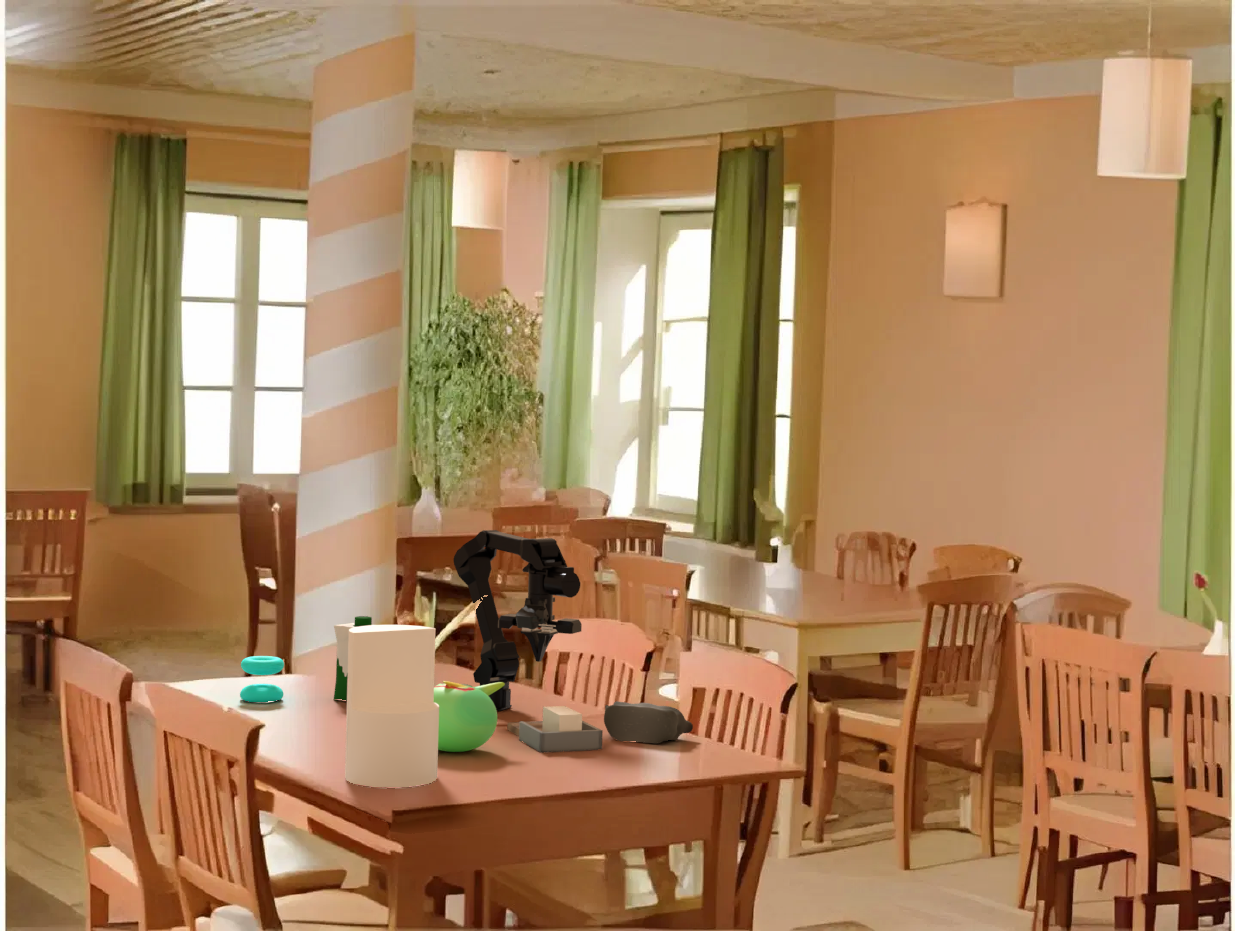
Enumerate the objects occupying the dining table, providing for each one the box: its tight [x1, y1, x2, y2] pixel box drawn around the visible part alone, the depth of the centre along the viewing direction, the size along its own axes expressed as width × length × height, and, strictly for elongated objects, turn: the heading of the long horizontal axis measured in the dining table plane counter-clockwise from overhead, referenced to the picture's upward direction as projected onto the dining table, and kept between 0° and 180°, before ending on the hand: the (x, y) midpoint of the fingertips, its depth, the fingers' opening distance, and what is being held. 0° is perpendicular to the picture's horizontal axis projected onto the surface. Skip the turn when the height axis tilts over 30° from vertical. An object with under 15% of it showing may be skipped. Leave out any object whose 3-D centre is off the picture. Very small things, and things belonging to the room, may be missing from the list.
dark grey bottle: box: [603, 700, 694, 745], centre depth 364 cm, size 18×11×8 cm, turn 68°
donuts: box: [239, 655, 285, 703], centre depth 396 cm, size 10×10×10 cm
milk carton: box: [333, 615, 374, 701], centre depth 400 cm, size 9×9×20 cm
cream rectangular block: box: [542, 705, 583, 732], centre depth 353 cm, size 7×5×10 cm
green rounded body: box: [434, 680, 505, 753], centre depth 345 cm, size 18×17×15 cm
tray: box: [518, 720, 604, 754], centre depth 354 cm, size 14×14×4 cm
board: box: [506, 720, 543, 736], centre depth 366 cm, size 12×11×2 cm
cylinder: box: [344, 624, 439, 787], centre depth 317 cm, size 17×17×28 cm
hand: (538, 661), depth 384 cm, fingers closed
